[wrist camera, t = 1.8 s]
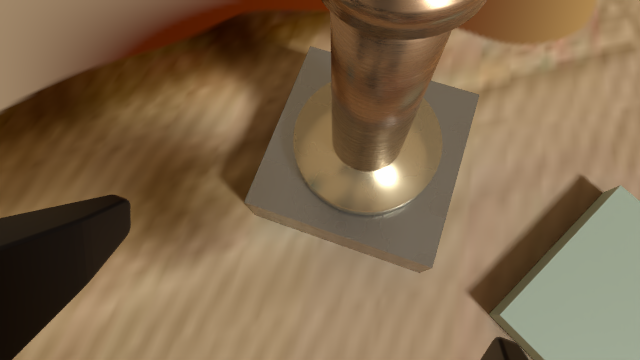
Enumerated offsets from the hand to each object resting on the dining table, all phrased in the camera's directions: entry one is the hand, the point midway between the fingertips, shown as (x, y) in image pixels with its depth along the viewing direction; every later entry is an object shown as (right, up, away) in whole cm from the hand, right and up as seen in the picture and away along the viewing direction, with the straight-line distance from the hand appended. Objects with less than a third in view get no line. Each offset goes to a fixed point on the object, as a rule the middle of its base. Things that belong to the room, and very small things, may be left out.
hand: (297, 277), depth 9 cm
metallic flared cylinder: (+3, +3, +15) cm, 15 cm away
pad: (+17, -5, +12) cm, 21 cm away
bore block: (+3, +3, +15) cm, 16 cm away
